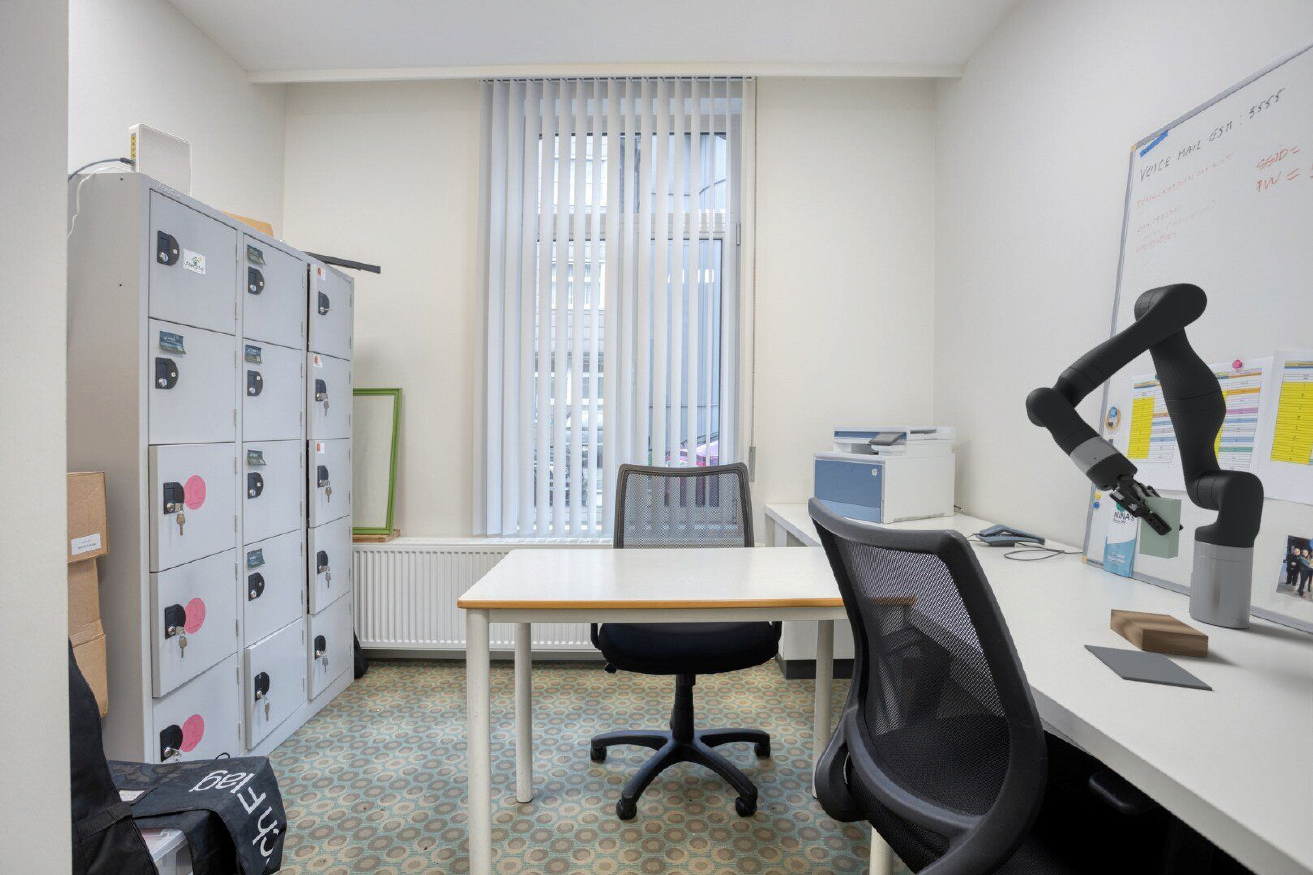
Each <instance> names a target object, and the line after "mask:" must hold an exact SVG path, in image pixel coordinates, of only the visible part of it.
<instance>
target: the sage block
mask: <svg viewBox="0 0 1313 875" xmlns="http://www.w3.org/2000/svg"><path fill="white" fill-rule="evenodd" d="M1146 499H1147V500H1148V505H1149V506H1150V507H1151V508H1152V509H1153V510H1154V511H1155V513H1154V514H1156V513H1157V514H1158V515H1159V516H1160V517H1161V518H1162V519H1163V520H1164V521H1165V522H1166V523H1167V524H1168V525H1169V526H1170V527H1171V528H1172V531H1170V532H1169V533H1167V534H1165V535H1159V534H1158V533H1157V532H1156V531H1155V530H1154V529H1153V528H1152V527H1151V526H1150V525H1149V524H1148V523H1147V522H1146V521H1145V520H1142V519H1140V532H1139V533H1140V534H1139V549H1138V550H1139V551H1138V553H1139V554H1141V555H1144V556H1145V555H1146V556H1151V557H1155V558H1156V557H1157V558H1160V559H1161V558H1163V559H1173V558H1178V557H1179V542H1180V531H1179V528H1180V524H1181V512H1182V499H1181V498H1180V499H1179V498H1170V497H1146Z"/></svg>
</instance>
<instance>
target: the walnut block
mask: <svg viewBox="0 0 1313 875" xmlns="http://www.w3.org/2000/svg"><path fill="white" fill-rule="evenodd" d="M1109 626H1110V627H1109V629H1110V630H1112V631H1113V632H1115V633H1116V634H1117V635H1119V636H1121V637H1122V638H1123V639H1125V640H1126V641H1128V642H1129V643H1131V644H1132V645H1134V646H1135V647H1136V648H1138V649H1139V650H1140V651H1143V652H1152V653H1161V654H1163V653H1164V654H1171V655H1179V656H1180V655H1181V656H1188V657H1198V658H1206V659H1207V658H1208V651H1209V650H1208V649H1209V635H1208V634H1205V633H1204V632H1201V631H1200V630H1198V629H1196V628H1194V627H1193V626H1190V625H1189V624H1187V623H1185V622H1183V621H1181V620H1180V619H1178V618H1175V617H1174V616H1171V615H1170V614H1162V613H1161V614H1160V613H1153V612H1144V611H1143V612H1142V611H1133V610H1132V611H1131V610H1123V609H1114V608H1113V609H1112V608H1111V609H1110V625H1109Z"/></svg>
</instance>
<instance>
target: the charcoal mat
mask: <svg viewBox="0 0 1313 875" xmlns="http://www.w3.org/2000/svg"><path fill="white" fill-rule="evenodd" d="M1083 646H1084V649H1086V650H1088V652H1090V653H1091V654H1092V655H1094V656H1095V657H1096V658H1097V659H1098V660H1100V661H1101V662H1102V663H1103V664H1104V665H1105V666H1107V667H1108V668H1109V669H1110V670H1111V671H1113V672H1114V673H1115V674H1116V675H1118V676H1119V677H1120V678H1122V680H1131V681H1138V682H1145V681H1147V682H1146V683H1154V684H1162V685H1170V686H1177V687H1185V688H1193V689H1200V690H1201V689H1202V690H1206V691H1207V690H1208V691H1212V690H1213V687H1211V686H1210V685H1208V684H1207V683H1206V682H1204V680H1201V679H1200V678H1198V677H1197V676H1195V675H1193V673H1191V672H1189V671H1188V670H1187V669H1185V668H1183V667H1181V666H1180V665H1179V664H1177V663H1176V662H1174V661H1173V660H1171V659H1170V658H1168V657H1167V656H1165V655H1164V654H1163V653H1160V652H1152V651H1143V650H1132V649H1126V648H1125V649H1123V648H1117V647H1116V648H1115V647H1106V646H1105V647H1104V646H1100V645H1099V646H1098V645H1092V644H1091V645H1090V644H1084V645H1083Z"/></svg>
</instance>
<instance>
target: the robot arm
mask: <svg viewBox="0 0 1313 875" xmlns="http://www.w3.org/2000/svg"><path fill="white" fill-rule="evenodd" d="M1207 305H1208V296H1207V295H1206V292H1205V290H1204V289H1202V288H1201V287H1200V286H1198V285H1196V284H1192V283H1188V282H1187V283H1186V282H1185V283H1184V282H1182V283H1173V284H1169V285H1164V286H1158V287H1154V288H1151V289H1148V290H1146V291H1144V292H1142V294H1140V295H1139V296H1138V298H1137V299H1136V300H1135V304H1134V306H1133V313H1134V319H1135V322H1134V323H1132V324H1131V325H1129V326H1128V327H1127V328H1125V329H1124V330H1122V331H1120V332H1119V333H1117V334H1116V335H1114V336H1112V337H1111V338H1108V339H1107V340H1105V341H1103V342H1102V343H1100V344H1098V345H1097V346H1095V347H1093V348H1092V349H1090V350H1089V351H1087V352H1086V353H1084V354H1083V355H1082V356H1080V357H1079V358H1078V359H1076V360H1075V361H1074V362H1073V363H1071V364H1070V365H1069V366H1068V367H1067V368H1066V369H1065V370H1063V371H1062V372H1061V374H1060V375H1058V378H1057V381H1056V383H1055V384H1054V386H1052V387H1047V386H1046V387H1044V386H1043V387H1042V386H1041V387H1038V388H1035V389H1033V390H1032V391H1030V392H1029V393H1028V395H1027V396H1026V399H1025V409H1026V414H1027V418H1028V420H1029V421H1030V423H1032V424H1033V425H1034V426H1036V427H1040V428H1046V429H1047V431H1049V433H1050V434H1051V437H1052V438H1053V440H1054V442H1055V443H1056V445H1057V446H1058V447H1059V448H1060V449H1061V451H1063V452H1064V453H1065V454H1066V455H1067V456H1068V457H1069V458H1070V460H1072V462H1073V463H1074V465H1076V467H1077V468H1078V469H1079V470H1080V471H1081V472H1082V473H1083V474H1084V475H1085V476H1086V477H1087V478H1088V480H1090V481H1091V482H1092V483H1093V484H1094V486H1096V487H1097V489H1099V490H1100V491H1102V492H1109V491H1111V490H1112V492H1110V493H1109V494H1108V496H1109V498H1110V499H1112V500H1113V501H1115V503H1116V504H1118V505H1119V506H1120V507H1122V508H1123V509H1124V511H1126V512H1127V513H1128V514H1129V515H1131V517H1134V518H1136V519H1137V518H1139V519H1140V520H1141V519H1142V520H1145V521H1146V522H1147V523H1148V524H1149V525H1150V526H1151V527H1152V528H1153V529H1154V530H1155V531H1156V532H1157V533H1158V534H1159V535H1165V534H1167V533H1169V532H1170V531H1172V528H1171V527H1170V526H1169V525H1168V524H1167V523H1166V522H1165V521H1164V520H1163V519H1162V518H1161V517H1160V516H1159V515H1158V514H1157V513H1156V514H1154V513H1155V511H1154V510H1153V509H1152V508H1151V507H1150V506H1149V505H1148V500H1147V499H1146V497H1161V495H1160V494H1159V493H1158V492H1157V491H1156V490H1155V488H1154V487H1153V486H1151V485H1147V486H1146V485H1145V484H1144V483H1142V482H1139V481H1138V480H1137V479H1135V478H1134V477H1135V475H1136V474H1137V473H1138V467H1137V466H1136V465H1135V464H1134V463H1133V462H1131V461H1130V460H1129V459H1128V458H1127V457H1126V456H1125V455H1124V454H1123V453H1121V451H1120V450H1119V449H1118V448H1116V447H1115V446H1114V444H1112V443H1111V442H1110V441H1108V440H1107V439H1105V438H1104V437H1103V436H1102V435H1101V434H1100V433H1098V432H1097V430H1096V429H1095V428H1093V427H1092V426H1091V425H1089V423H1088V422H1086V420H1084V419H1083V418H1082V417H1081V415H1080V414H1079V413H1078V411H1077V409H1076V407H1077V406H1078V405H1079V404H1080V403H1081V402H1082V401H1083V400H1084V399H1085V398H1086V397H1087V396H1088V395H1090V393H1093V391H1094V390H1096V389H1097V388H1099V387H1100V386H1101V385H1103V383H1105V382H1106V381H1107V380H1109V378H1110V379H1111V377H1112V376H1114V375H1115V374H1116V373H1117V372H1118V371H1120V370H1121V369H1122V368H1124V367H1125V366H1127V365H1128V364H1129V363H1131V362H1132V361H1133V360H1135V359H1137V358H1138V357H1139V356H1140V355H1142V354H1143V353H1145V352H1146V351H1148V352H1150V355H1151V359H1152V361H1153V366H1154V370H1155V373H1156V375H1157V379H1158V382H1159V384H1160V387H1161V391H1162V396H1163V400H1164V403H1165V407H1166V410H1167V413H1168V415H1169V419H1170V421H1171V424H1172V428H1173V432H1174V436H1175V440H1176V443H1177V447H1178V451H1179V457H1180V460H1181V467H1182V473H1183V480H1184V485H1185V490H1186V493H1187V495H1188V498H1189V500H1190V501H1191V502H1192V503H1193V505H1195V506H1196V507H1198V508H1201V509H1204V510H1209V511H1214V512H1218V514H1217V517H1216V520H1215V521H1214V522H1213V523H1211V524H1208V525H1202V526H1198V527H1196V528H1195V530H1194V537H1193V538H1194V540H1193V557H1192V558H1193V559H1192V572H1191V573H1190V589H1189V604H1188V613H1189V616H1190V617H1191V618H1192V619H1194V620H1197V621H1200V622H1203V623H1205V624H1210V625H1214V626H1219V627H1223V628H1224V627H1226V628H1231V629H1248V628H1249V627H1250V614H1251V602H1252V601H1251V598H1252V586H1253V585H1252V584H1253V567H1254V549H1255V548H1254V547H1255V541H1256V538H1257V536H1258V535H1259V534H1260V530H1261V523H1262V522H1261V521H1262V515H1263V509H1264V508H1263V507H1264V501H1265V490H1264V485H1263V482H1262V480H1261V479H1260V477H1258V475H1256V474H1255V473H1252V472H1249V471H1242V470H1232V469H1223V468H1221V467H1220V465H1219V462H1218V459H1217V455H1216V450H1215V443H1216V439H1217V437H1218V434H1219V433H1220V430H1221V428H1222V425H1223V423H1224V421H1225V418H1226V414H1227V404H1226V400H1225V397H1224V394H1223V390H1222V386H1221V384H1220V382H1219V380H1218V378H1217V376H1216V375H1215V373H1214V371H1212V369H1211V368H1210V367H1209V365H1208V364H1206V362H1205V361H1204V360H1203V359H1202V358H1201V357H1200V356H1199V354H1197V352H1196V351H1195V350H1194V348H1193V347H1192V345H1191V344H1190V341H1189V339H1188V336H1187V333H1186V327H1187V326H1189V325H1191V324H1192V323H1194V322H1196V321H1197V320H1198V319H1200V317H1201V316H1202V315H1203V314H1204V313H1205V310H1206V308H1207ZM1183 529H1184V526H1183V524H1182V523H1180V528H1179V532H1180V531H1183Z"/></svg>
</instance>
